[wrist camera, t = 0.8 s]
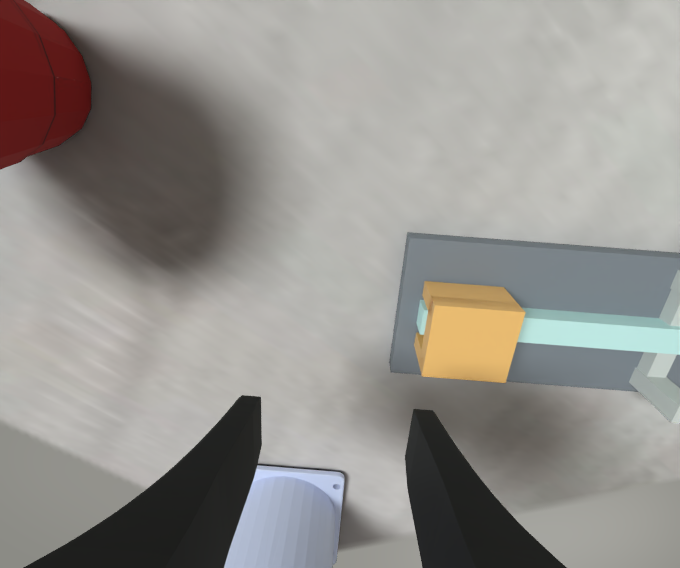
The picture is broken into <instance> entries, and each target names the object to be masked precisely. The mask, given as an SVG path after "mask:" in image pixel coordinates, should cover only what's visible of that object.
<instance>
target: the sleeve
mask: <svg viewBox="0 0 680 568" xmlns="http://www.w3.org/2000/svg"><path fill="white" fill-rule="evenodd" d="M422 296H423V299H424V301H425V304H426V307H427V309H428V315H427V321H426V326H425V332H424V335H420V334H419V333H418V332H416V336H415V342H414V347H415V351H416V355H417V359H418V363H419V367H420V371H421V375H422V376H424V377H436V378H449V379H462V380H474V381H487V382H500V383H506V379H507V376H508V372H509V369H510V365H511V362H512V358H513V355H514V351H515V348H516V344H517V341H518V337H519V334H520V330H521V327H522V323H523V320H524V316H525V313H526V312H525V311H524V310H523V309H522V308H521V306H520V305H519V304H518V303H517V302H516V301H515V300H514V298H513V297H512V296H511V295H510V294H509V293H508V292H507V290H506V289H505V288H504V287H496V286H483V285H470V284H457V283H444V282H431V281H425V282H424V288H423V294H422Z"/></svg>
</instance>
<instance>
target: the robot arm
mask: <svg viewBox="0 0 680 568" xmlns="http://www.w3.org/2000/svg"><path fill="white" fill-rule="evenodd" d="M261 445H262V439H261V397H256V396H243V395H242V396H241V397H239V398H238V400H237V401H236V402H235V403H234V404H233V406H232V407H231V408H230V409H229V410H228V412H227V413H226V414H225V415H224V416H223V417H222V418H221V420H220V421H219V422H218V423H217V424H216V425H215V426H214V427H213V428H212V429H211V430H210V431H209V433H208V434H207V435H206V436H205V437H204V438H203V439H202V440H201V441H200V442H199V443H198V444H197V445H196V446H195V447H194V448H193V449H192V450H191V451H190V452H189V453H188V454H187V455H186V456H185V457H183V458H182V459H181V460H180V461H179V462H178V463H177V464H176V465H175V466H174V467H173V468H172V469H170V470H169V471H168V472H167V473H166V474H165V475H164V476H162V477H161V478H160V479H159V480H158V481H156V482H155V483H154V484H153V485H151V486H150V487H149V488H148V489H146V490H145V491H144V492H143V493H141V494H140V495H139V496H137V497H136V498H135V499H133V500H132V501H131V502H129V503H128V504H127V505H125V506H124V507H122V508H121V509H120V510H118V511H117V512H115V513H114V514H113V515H111V516H110V517H108V518H107V519H105V520H103V521H102V522H101V523H99V524H97V525H96V526H94V527H93V528H91V529H90V530H88V531H87V532H85V533H83V534H82V535H80V536H79V537H77V538H76V539H74V540H72V541H70V542H69V543H67V544H65V545H64V546H62V547H60V548H58V549H56V550H55V551H53V552H51V553H49V554H47V555H46V556H44V557H42V558H40V559H39V560H37V561H35V562H33V563H31V564H30V565H28V566H26V567H24V568H333V564H335V563H336V561H337V551H338V541H339V531H340V521H341V511H342V501H343V491H344V479H345V478H344V475H343V474H342V473H340V472H333V471H321V470H309V469H296V468H284V467H272V466H260V465H257V463H258V459H259V454H260V450H261ZM405 461H406V475H407V486H408V493H409V498H410V504H411V509H412V514H413V520H414V525H415V530H416V535H417V540H418V545H419V551H420V556H421V561H422V567H423V568H566V567H565V566H564V565H563V564H562V563H561V562H559V561H558V560H557V559H556V558H555V557H554V556H553V555H552V554H551V553H550V552H549V551H547V550H546V549H545V548H544V547H543V546H542V545H541V544H540V543H539V542H538V541H537V540H536V539H535V538H534V537H533V536H531V534H529V533H528V532H527V531H526V530H525V529H524V528H523V527H522V526H521V525H520V524H519V523H518V522H517V521H516V520H515V518H514V517H513V516H512V515H511V514H510V513H509V512H508V511H507V510H506V509H505V508H504V506H503V505H502V504H501V503H500V502H499V501H498V500H497V498H496V497H495V496H494V495H493V494H492V493H491V491H490V490H489V489H488V488H487V486H486V485H485V484H484V483H483V482H482V480H481V479H480V478H479V476H478V475H477V474H476V473H475V471H474V470H473V469H472V467H471V466H470V465H469V463H468V462H467V460H466V459H465V458H464V456H463V455H462V454H461V452H460V451H459V449H458V448H457V446H456V445H455V444H454V442H453V441H452V439H451V438H450V436H449V435H448V433H447V432H446V430H445V428H444V427H443V425H442V424H441V422H440V421H439V419H438V417H437V416H436V414H435V413H434V412H433V411H431V410H419V409H414V410H413V415H412V421H411V427H410V432H409V438H408V443H407V449H406V455H405ZM336 484H338V485H336Z"/></svg>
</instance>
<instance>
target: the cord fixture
mask: <svg viewBox="0 0 680 568" xmlns="http://www.w3.org/2000/svg"><path fill="white" fill-rule="evenodd" d="M425 281H431V282H444V283H457V284H470V285H483V286H496V287H504V288H505V289H506V290H507V292H508V293H509V294H510V295H511V296H512V297H513V298H514V300H515V301H516V302H517V303H518V304H519V305H520V306H521V308H522V309H523V310H524V311H525V312H526V313H525V316H524V320H523V323H522V327H521V330H520V334H519V337H518V341H517V344H516V348H515V351H514V355H513V358H512V362H511V365H510V369H509V372H508V376H507V379H506V381H508V382H520V383H533V384H546V385H558V386H571V387H584V388H597V389H609V390H622V391H635V392H640V393H641V394H642V395H643V396H644V397H645V398H646V399H647V400H648V401H649V402H650V403H651V404H652V405H653V406H654V407H655V408H656V409H657V410H658V411H659V412H660V413H661V414H662V415H663V416H664V417H665V418H666V419H667V420H668V421H669V422H671V423H679V424H680V253H672V252H659V251H646V250H633V249H619V248H606V247H593V246H580V245H566V244H553V243H540V242H527V241H513V240H500V239H487V238H474V237H460V236H447V235H434V234H421V233H407V239H406V246H405V254H404V261H403V268H402V275H401V282H400V289H399V297H398V304H397V311H396V318H395V325H394V333H393V340H392V347H391V354H390V361H389V363H390V371H391V372H394V373H406V374H419V375H421V371H420V367H419V363H418V359H417V355H416V351H415V347H414V342H415V336H416V332H418V333H419V334H420V335H424V332H425V326H426V321H427V315H428V309H427V307H426V304H425V301H424V299H423V296H422V294H423V288H424V282H425Z"/></svg>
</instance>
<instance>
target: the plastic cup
mask: <svg viewBox="0 0 680 568" xmlns="http://www.w3.org/2000/svg"><path fill="white" fill-rule="evenodd" d="M90 109H91V81H90V78H89V75H88V72H87V69H86V66H85V63H84V60H83V57H82V55H81V54H80V52H79V51H78V49H77V48H76V47H75V45H74V44H73V42H72V41H71V40H70V38H69V37H68V35H67V34H66V33H65V31H64V30H63V29H61V28H60V27H59V26H57V24H56V23H55V22H53V21H52V20H51V19H49V18H48V17H47V16H45V15H44V14H43V13H41V12H40V11H39V10H37V9H36V8H35V7H33V6H32V5H31V4H29V3H28V2H26V1H24V0H0V169H3V168H5V167H8V166H11V165H13V164H16V163H19V162H21V161H22V160H24V159H25V158H26V157H27V156H30V155H33V154H36V153H39V152H42V151H45V150H48V149H50V148H53V147H56V146H59V145H60V144H61V143H63V142H64V141H66V140H67V139H68V138H70V137H71V136H72V135H74V134H75V133H76V132H78V131H79V130H80V129H82V127H83V125H84V122H85V120H86V118H87V116H88V114H89V111H90Z"/></svg>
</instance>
